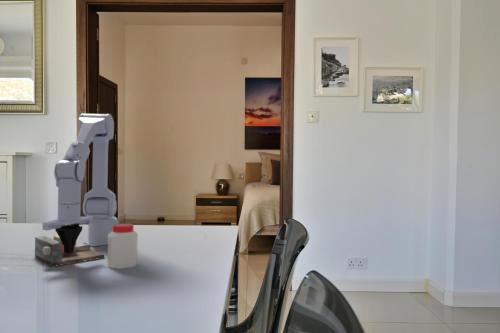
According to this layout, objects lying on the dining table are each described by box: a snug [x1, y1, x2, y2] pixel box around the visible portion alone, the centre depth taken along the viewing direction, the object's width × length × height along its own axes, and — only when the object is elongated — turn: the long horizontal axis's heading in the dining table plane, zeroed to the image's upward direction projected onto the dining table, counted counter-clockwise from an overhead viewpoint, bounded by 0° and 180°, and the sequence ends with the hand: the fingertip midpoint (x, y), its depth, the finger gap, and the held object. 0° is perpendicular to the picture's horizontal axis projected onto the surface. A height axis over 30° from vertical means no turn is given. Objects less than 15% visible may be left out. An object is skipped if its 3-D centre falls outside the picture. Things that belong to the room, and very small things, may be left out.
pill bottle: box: [107, 223, 139, 270], centre depth 108 cm, size 8×8×11 cm
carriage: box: [53, 234, 77, 251], centre depth 116 cm, size 5×4×4 cm
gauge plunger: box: [43, 244, 64, 255], centre depth 106 cm, size 5×2×2 cm, turn 137°
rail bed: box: [34, 235, 105, 267], centre depth 114 cm, size 14×13×6 cm
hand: (68, 252), depth 109 cm, fingers closed
